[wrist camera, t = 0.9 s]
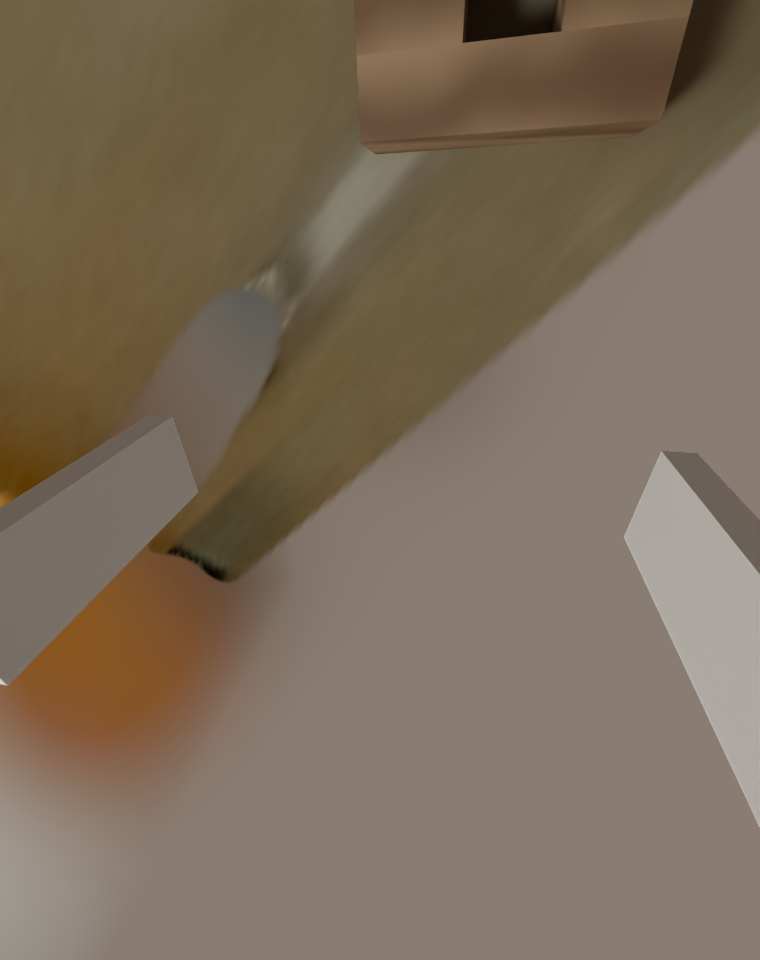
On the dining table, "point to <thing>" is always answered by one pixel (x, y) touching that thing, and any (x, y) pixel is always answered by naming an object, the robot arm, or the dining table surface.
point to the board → (512, 74)
